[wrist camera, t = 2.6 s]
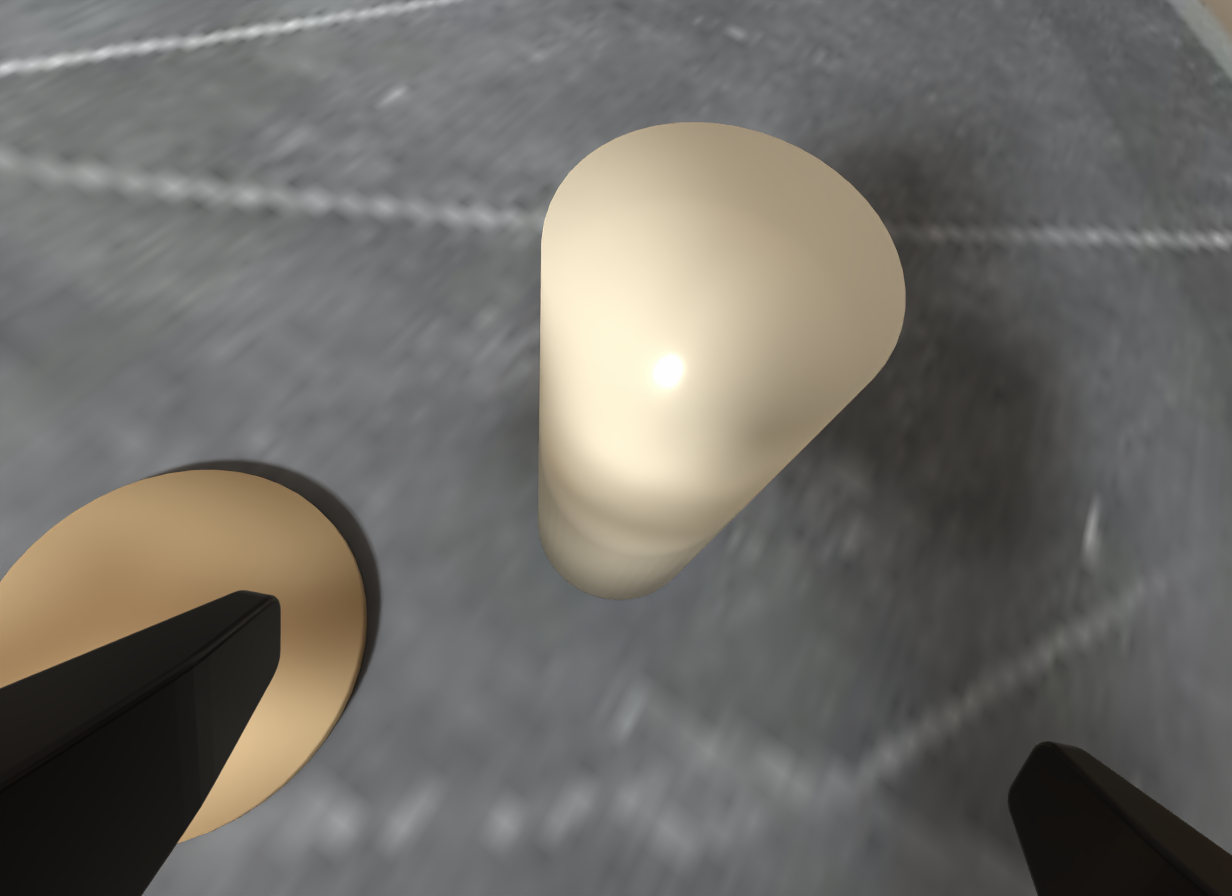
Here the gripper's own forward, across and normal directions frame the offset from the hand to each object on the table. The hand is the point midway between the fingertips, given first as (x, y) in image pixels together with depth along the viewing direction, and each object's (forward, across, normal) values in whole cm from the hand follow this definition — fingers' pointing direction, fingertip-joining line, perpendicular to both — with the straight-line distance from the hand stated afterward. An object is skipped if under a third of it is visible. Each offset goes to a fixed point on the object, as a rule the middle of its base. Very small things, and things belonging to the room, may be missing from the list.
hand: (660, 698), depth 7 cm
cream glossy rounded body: (+13, 0, +4) cm, 13 cm away
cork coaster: (+8, +12, +9) cm, 17 cm away
